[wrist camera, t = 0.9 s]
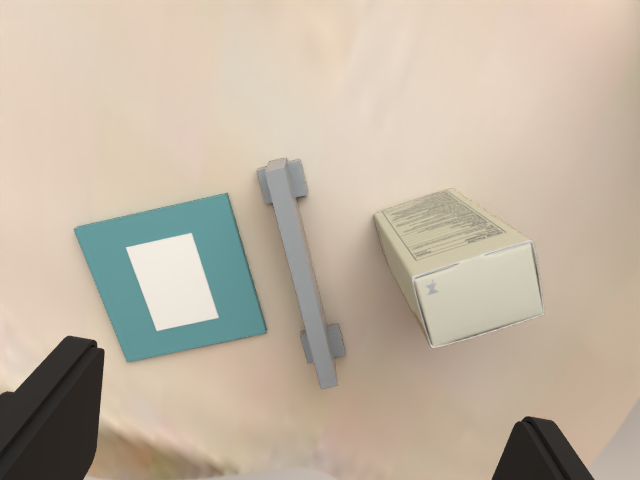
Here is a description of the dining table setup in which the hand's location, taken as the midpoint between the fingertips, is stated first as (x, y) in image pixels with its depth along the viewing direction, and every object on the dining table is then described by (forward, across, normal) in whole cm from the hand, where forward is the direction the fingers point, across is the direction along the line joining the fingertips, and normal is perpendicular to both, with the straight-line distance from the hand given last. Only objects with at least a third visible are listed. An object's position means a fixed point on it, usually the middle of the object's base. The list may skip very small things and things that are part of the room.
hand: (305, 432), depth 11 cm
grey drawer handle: (+25, -1, +6) cm, 26 cm away
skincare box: (+25, -8, +1) cm, 27 cm away
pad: (+25, +8, +9) cm, 27 cm away
